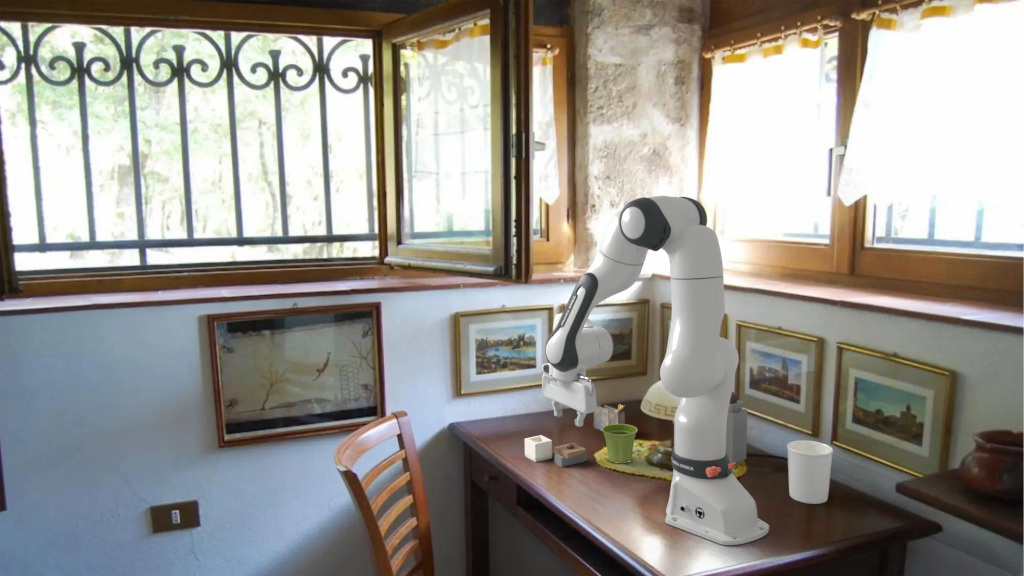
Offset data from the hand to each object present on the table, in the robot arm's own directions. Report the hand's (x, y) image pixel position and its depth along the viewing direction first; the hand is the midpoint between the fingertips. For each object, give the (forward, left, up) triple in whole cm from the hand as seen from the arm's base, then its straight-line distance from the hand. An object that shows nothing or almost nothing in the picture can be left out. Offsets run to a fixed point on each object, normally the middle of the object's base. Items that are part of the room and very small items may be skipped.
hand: (568, 421), depth 193 cm
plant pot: (-7, -12, -12) cm, 18 cm away
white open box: (+7, +5, -11) cm, 14 cm away
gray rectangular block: (-1, 0, -11) cm, 11 cm away
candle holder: (-49, -33, -12) cm, 61 cm away
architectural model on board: (+14, -25, -12) cm, 31 cm away
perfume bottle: (-22, -37, -12) cm, 44 cm away
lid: (-1, 0, -9) cm, 9 cm away
